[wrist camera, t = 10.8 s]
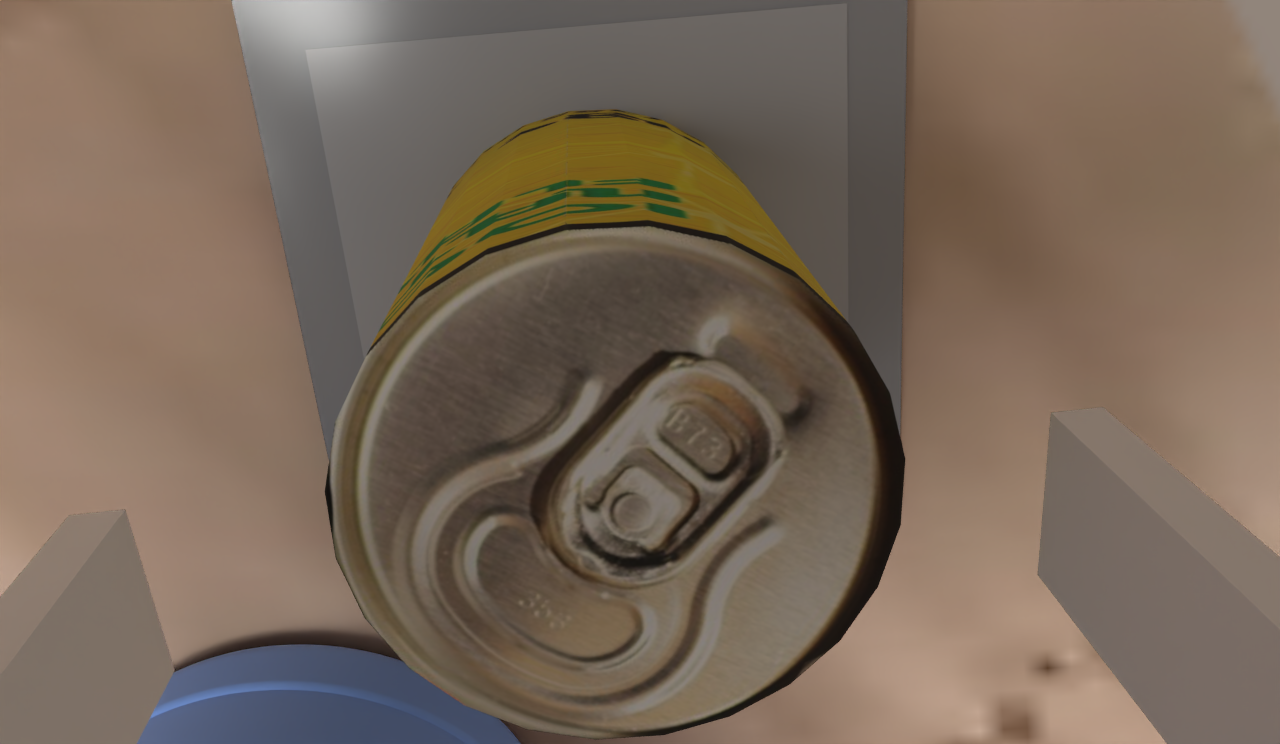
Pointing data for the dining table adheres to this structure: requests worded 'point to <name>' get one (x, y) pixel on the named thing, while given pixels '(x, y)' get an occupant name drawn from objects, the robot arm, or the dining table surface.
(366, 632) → the dining table surface
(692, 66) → the plate
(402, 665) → the water jug
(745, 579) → the beverage can
